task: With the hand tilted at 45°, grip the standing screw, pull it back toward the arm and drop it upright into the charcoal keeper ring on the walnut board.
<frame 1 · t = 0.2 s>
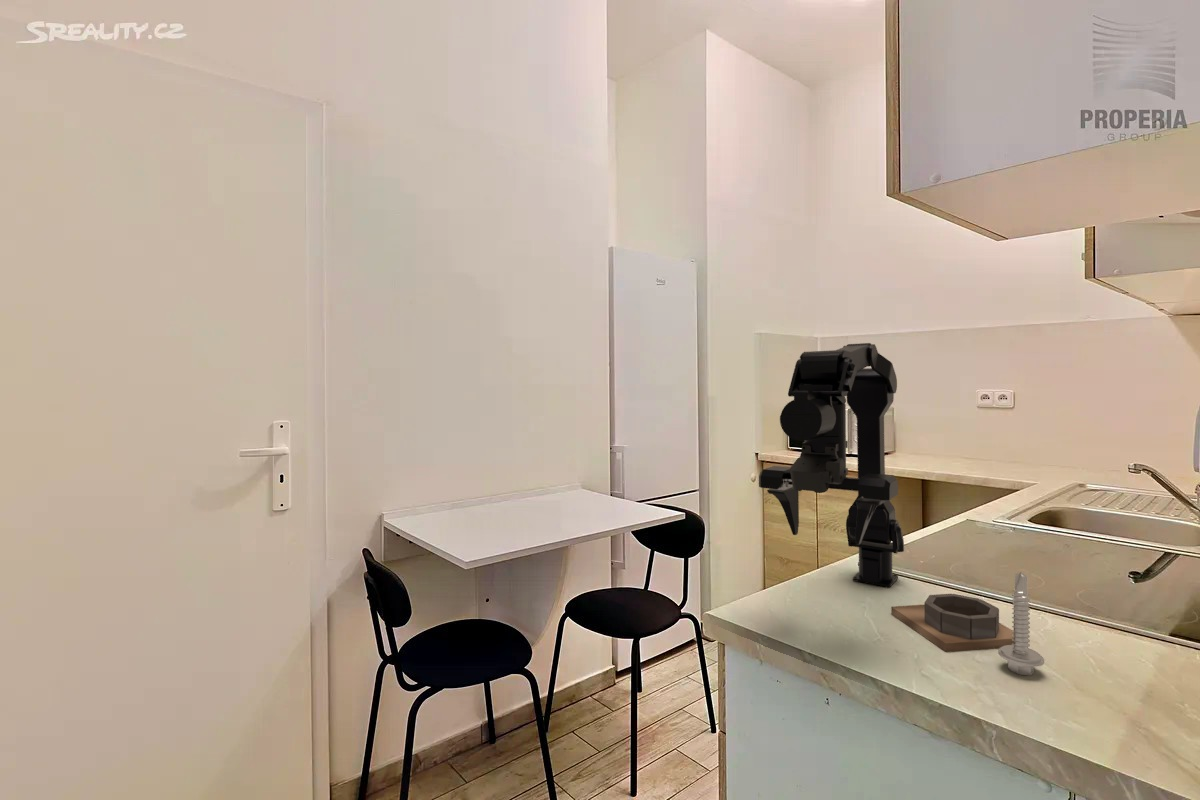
hand: (825, 539, 87), 15 cm above the counter, tool pointing down, fingers open, 9 cm apart
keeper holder: (961, 633, 87), on the counter
screw: (1020, 672, 76), on the counter
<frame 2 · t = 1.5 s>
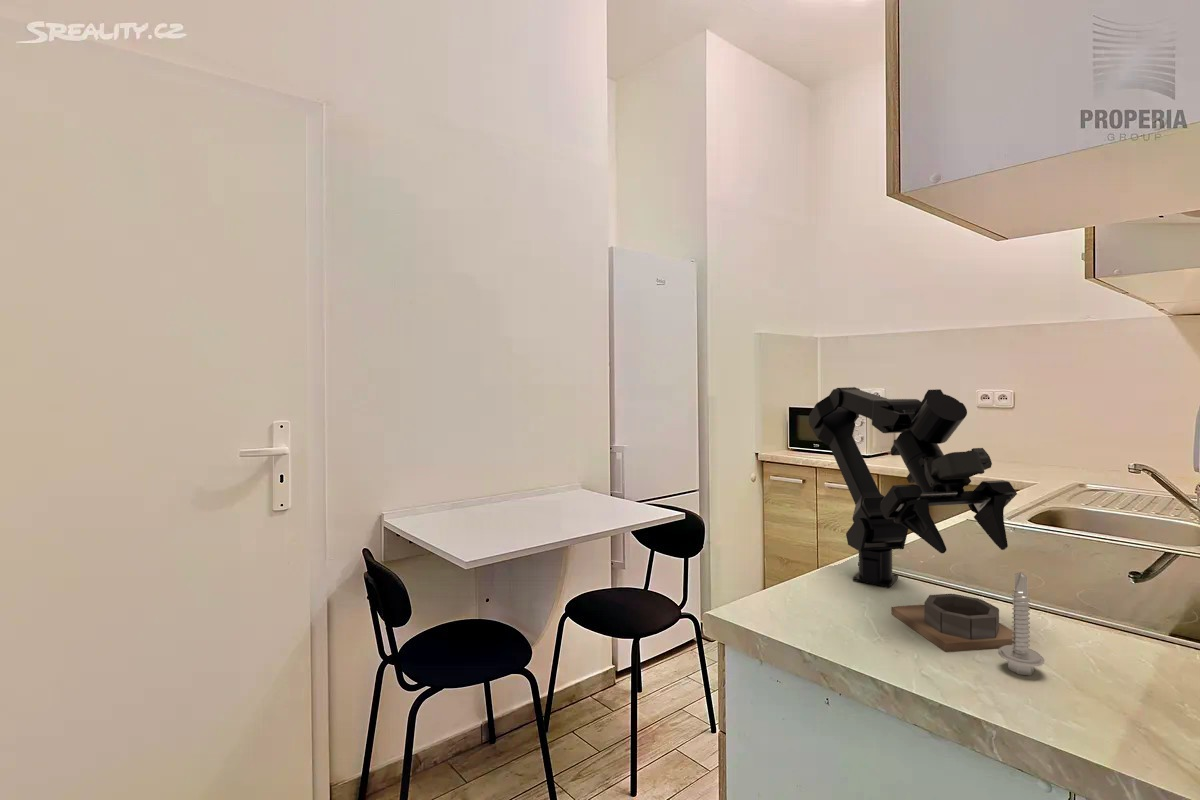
hand: (974, 550, 83), 13 cm above the counter, tool tilted 45°, fingers open, 9 cm apart
nothing on the counter moved.
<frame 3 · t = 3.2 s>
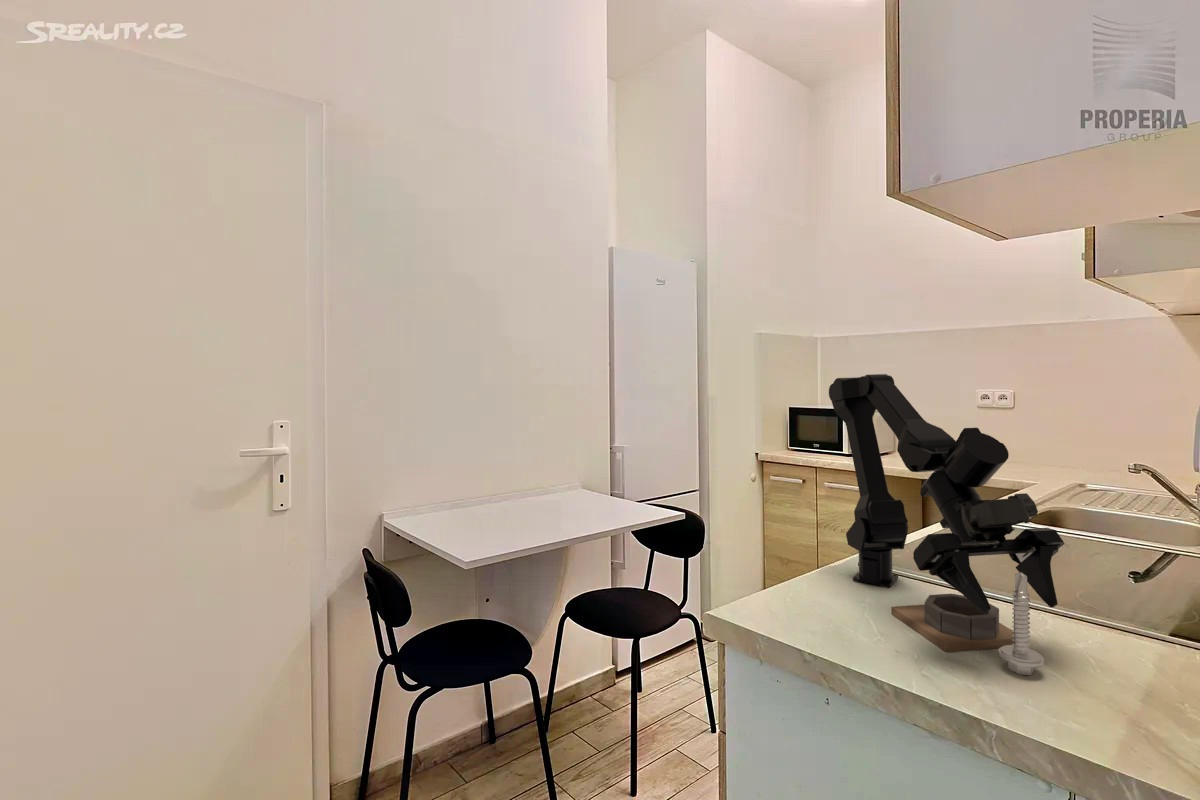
hand: (1021, 608, 75), 8 cm above the counter, tool tilted 45°, fingers open, 9 cm apart
nothing on the counter moved.
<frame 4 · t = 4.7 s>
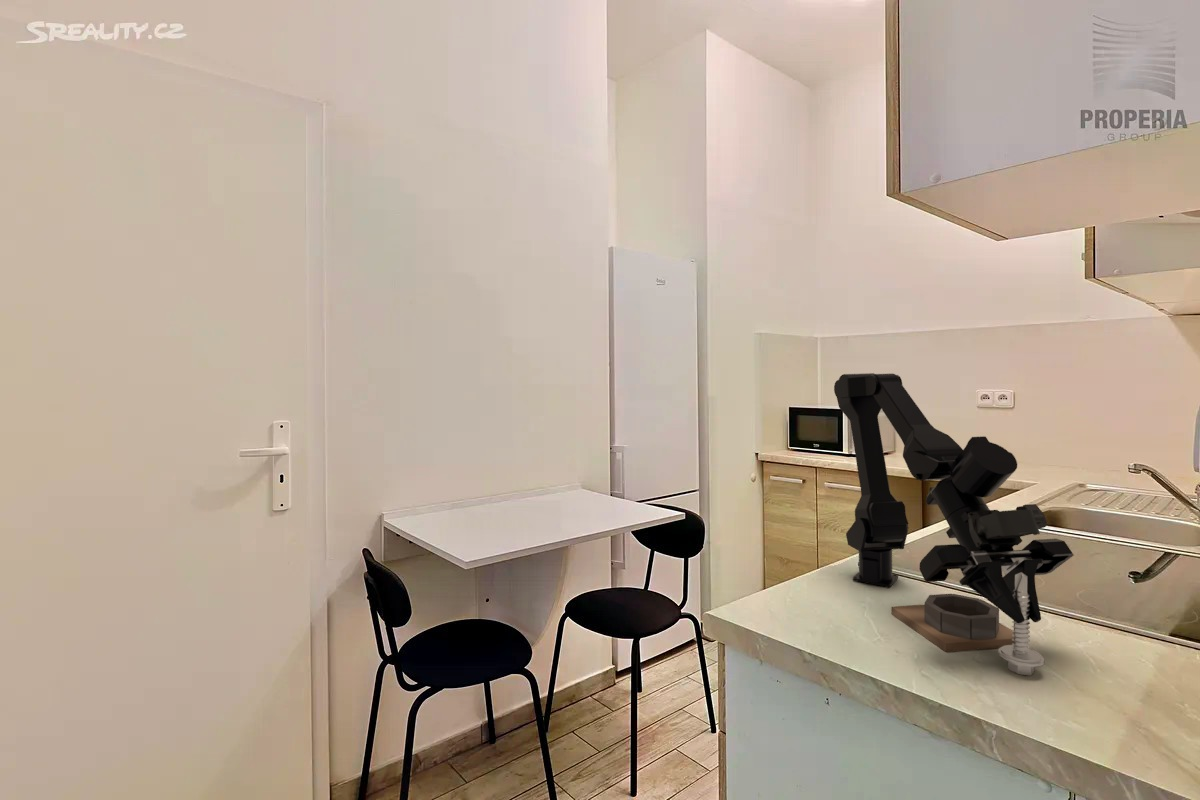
hand: (1029, 621, 74), 7 cm above the counter, tool tilted 45°, fingers closed on screw, 2 cm apart
screw: (1020, 672, 76), on the counter, touching gripper
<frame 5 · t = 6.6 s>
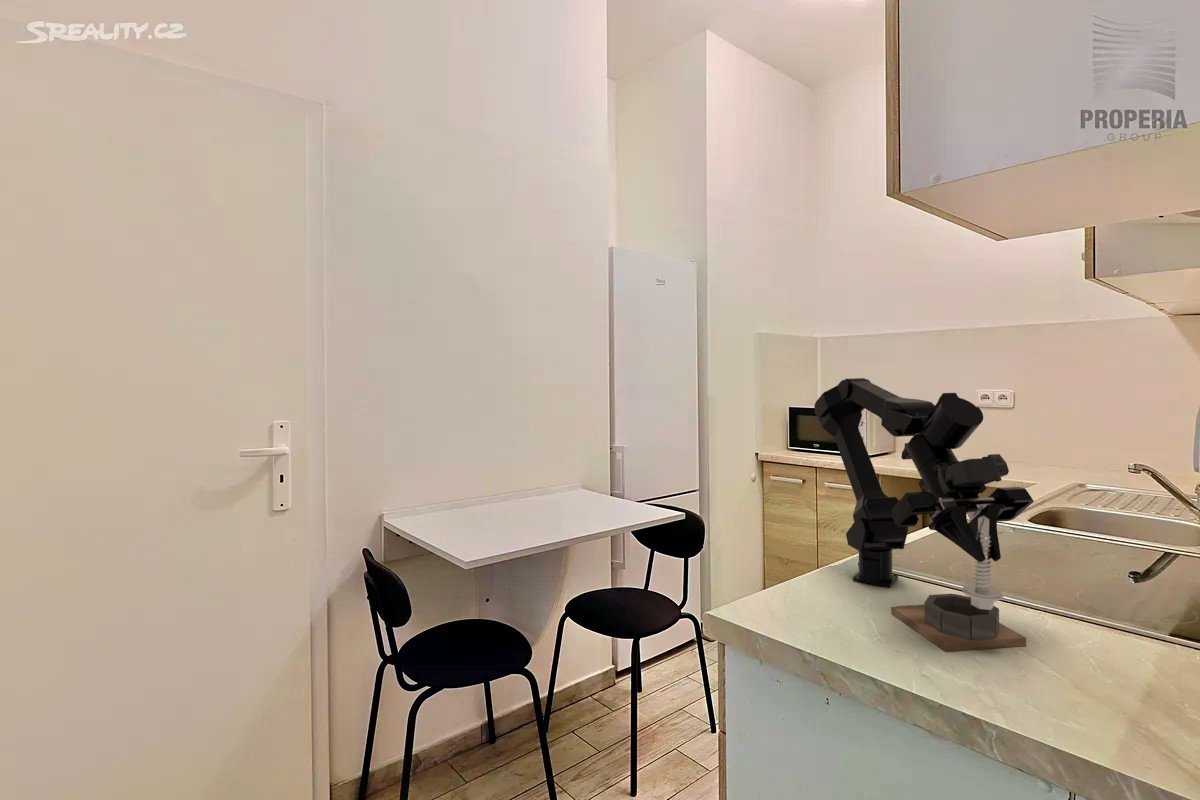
hand: (990, 560, 80), 13 cm above the counter, tool tilted 45°, fingers closed on screw
screw: (982, 607, 82), point 6 cm above the counter, touching gripper
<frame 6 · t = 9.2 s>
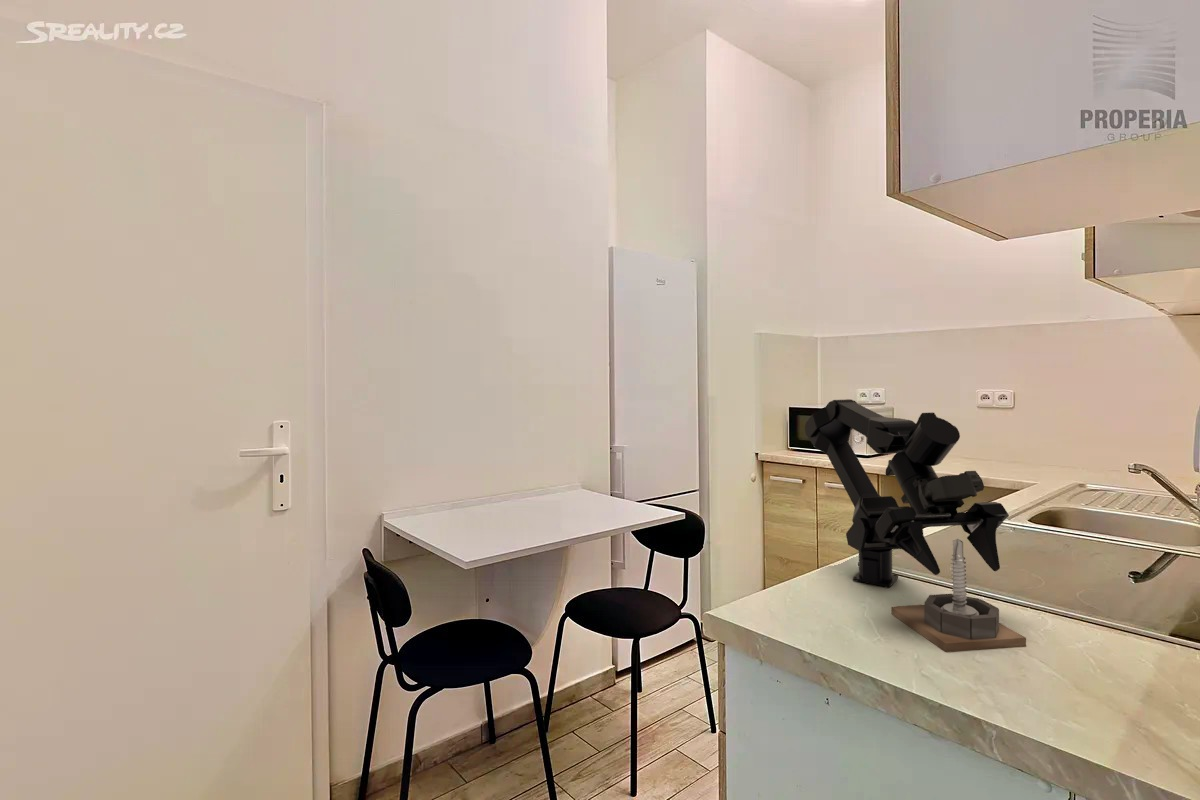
hand: (967, 571, 85), 10 cm above the counter, tool tilted 45°, fingers open, 9 cm apart
screw: (960, 625, 87), point 1 cm above the counter, touching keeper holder
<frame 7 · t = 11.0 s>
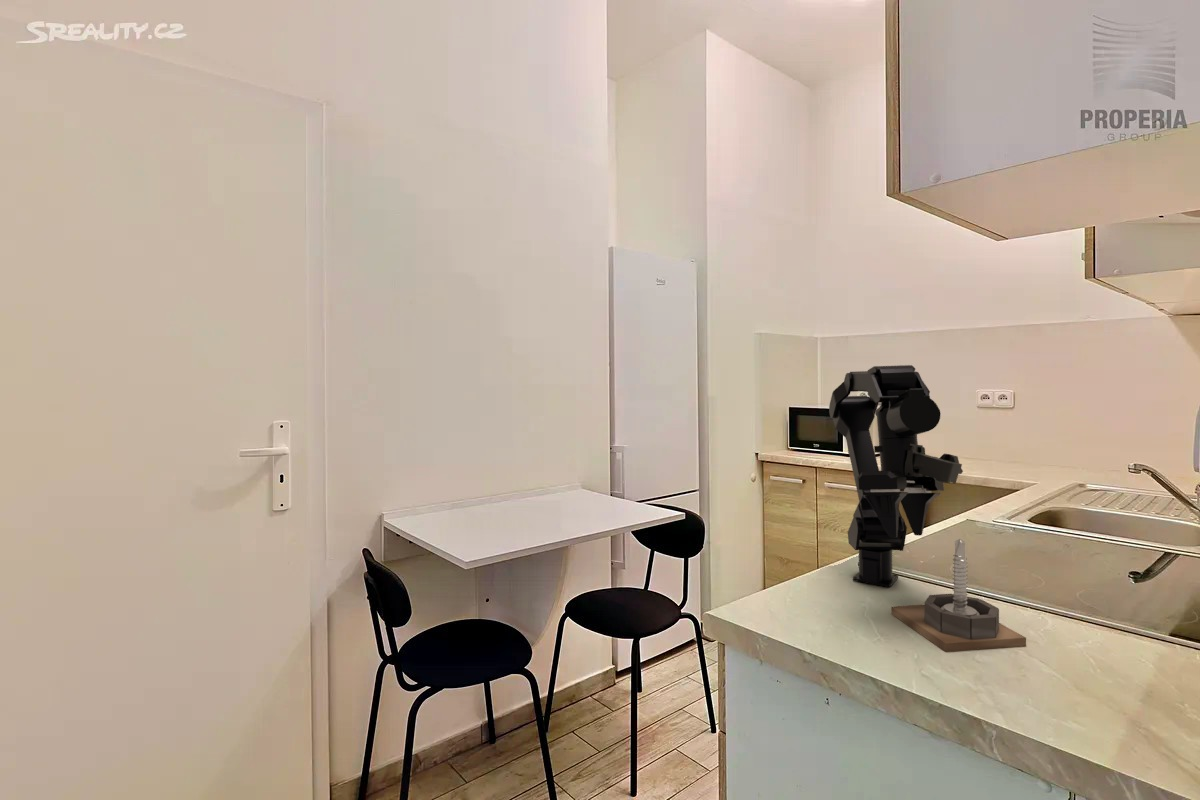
hand: (906, 536, 94), 13 cm above the counter, tool pointing down, fingers open, 9 cm apart
nothing on the counter moved.
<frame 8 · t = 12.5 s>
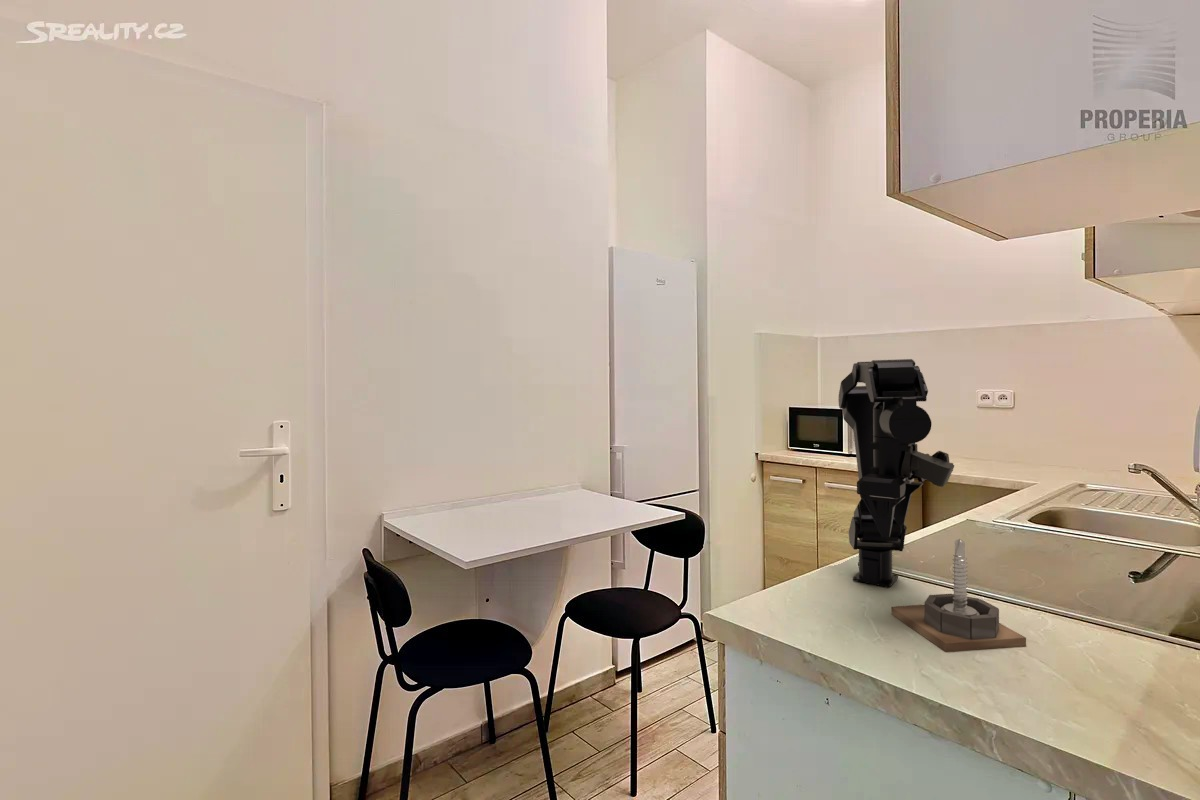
hand: (893, 530, 96), 13 cm above the counter, tool pointing down, fingers open, 9 cm apart
nothing on the counter moved.
at the end: screw 0.1 cm off-centre on the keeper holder, point 1.0 cm above the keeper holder's base; screw tilted 0°; the gripper is holding nothing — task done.
